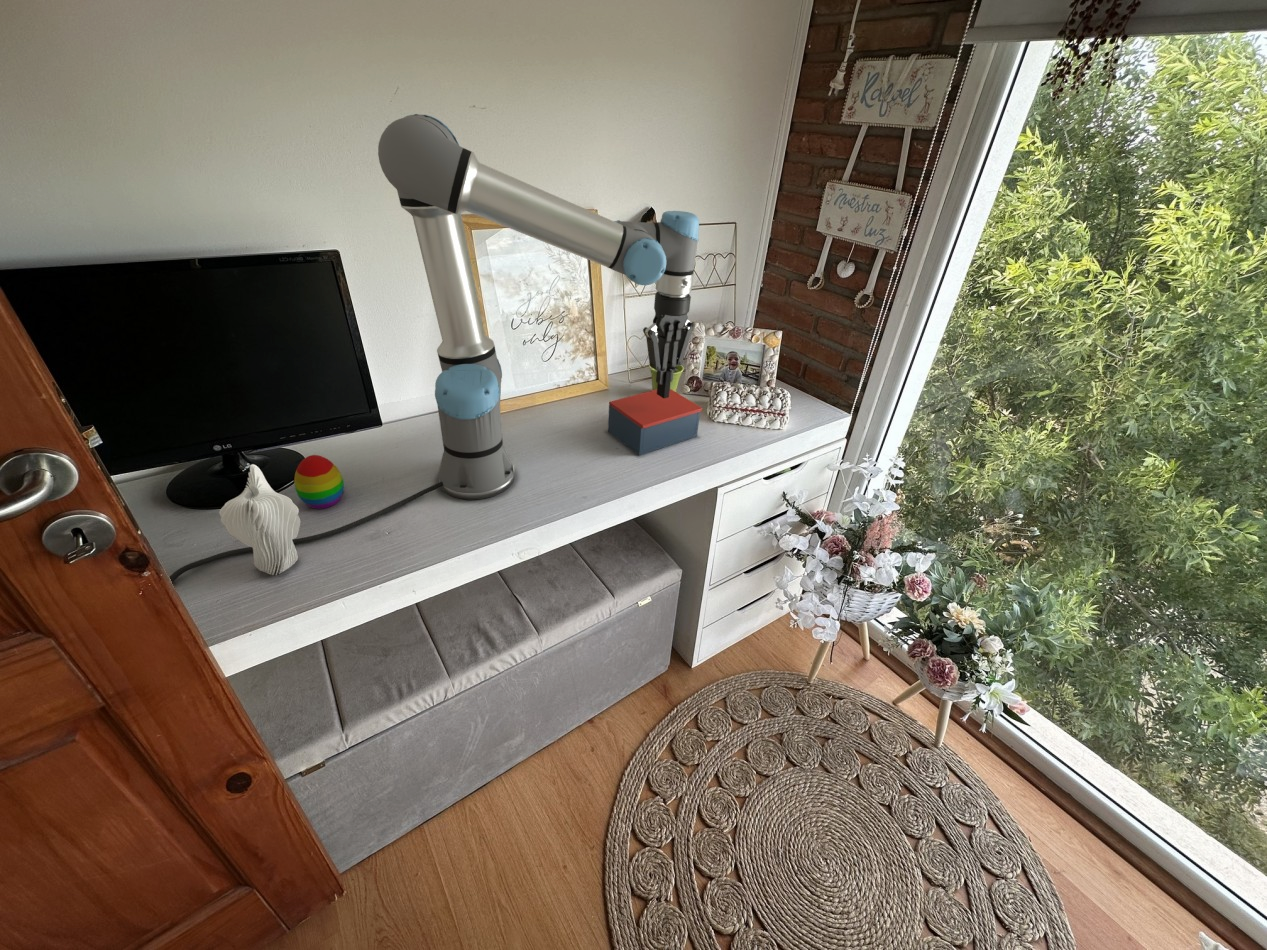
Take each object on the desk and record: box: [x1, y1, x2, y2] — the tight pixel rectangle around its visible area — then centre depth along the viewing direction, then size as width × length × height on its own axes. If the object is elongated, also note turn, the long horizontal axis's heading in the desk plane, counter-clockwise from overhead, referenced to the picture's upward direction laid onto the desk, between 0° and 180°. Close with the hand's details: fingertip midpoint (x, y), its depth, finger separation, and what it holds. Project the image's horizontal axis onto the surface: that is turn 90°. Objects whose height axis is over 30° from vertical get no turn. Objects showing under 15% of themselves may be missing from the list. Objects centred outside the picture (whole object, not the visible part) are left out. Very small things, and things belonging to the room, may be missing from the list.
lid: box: [608, 389, 703, 429], centre depth 138 cm, size 14×18×1 cm
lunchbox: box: [607, 404, 701, 456], centre depth 140 cm, size 13×18×7 cm
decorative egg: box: [293, 454, 345, 510], centre depth 110 cm, size 8×8×10 cm
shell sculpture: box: [218, 463, 301, 576], centre depth 92 cm, size 8×8×18 cm
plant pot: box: [648, 363, 685, 393], centre depth 159 cm, size 9×9×9 cm
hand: (662, 395), depth 134 cm, fingers closed
